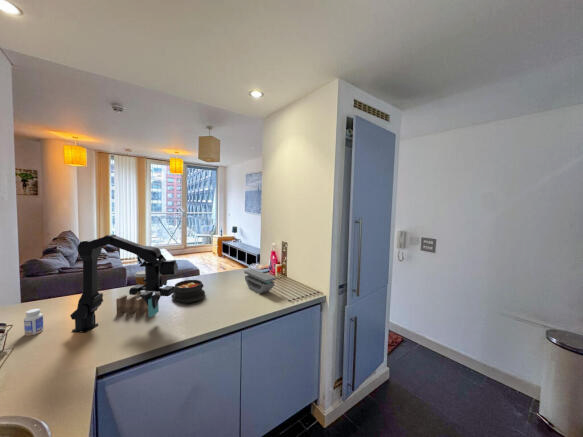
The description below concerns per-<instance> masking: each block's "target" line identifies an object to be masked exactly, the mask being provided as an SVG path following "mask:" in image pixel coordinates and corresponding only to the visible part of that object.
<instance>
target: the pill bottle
mask: <svg viewBox="0 0 583 437" xmlns="http://www.w3.org/2000/svg"><path fill="white" fill-rule="evenodd" d="M25 314H26V316H25V317H24V318H23V327H24V336H26V337H27V336H29V337H30V336H34V335H38V334H40V333H41V332H43V331H44V315H43V313H41V309H40V308H32V309H29V310H27V311H25Z"/></svg>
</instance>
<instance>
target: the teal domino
mask: <svg viewBox="0 0 583 437" xmlns="http://www.w3.org/2000/svg"><path fill="white" fill-rule="evenodd" d="M159 308H160V307H159V303H158V304H157V306H156V308H155V309H154V308H153V302H152V297H151V298H150V299H148V317H154V316H155V315H156V314H157V313H159V310H160V309H159Z"/></svg>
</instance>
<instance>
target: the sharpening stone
mask: <svg viewBox="0 0 583 437" xmlns="http://www.w3.org/2000/svg"><path fill="white" fill-rule="evenodd" d="M243 273H244V274H245V276H244V281H245V282H246V284H247V287H248V289H249V290H251V291H253V292H254V293H256V294H258V295H260V294H265V293H267V292H270V291H271V290H272V289H273V288H274V287H275V282H274V281H276V277H275V276H274V275H273V276H272V275H269V274H267V273H264V272H262V271H260V270H257V269H255V268H252V269H247V270H244V271H243Z"/></svg>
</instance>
